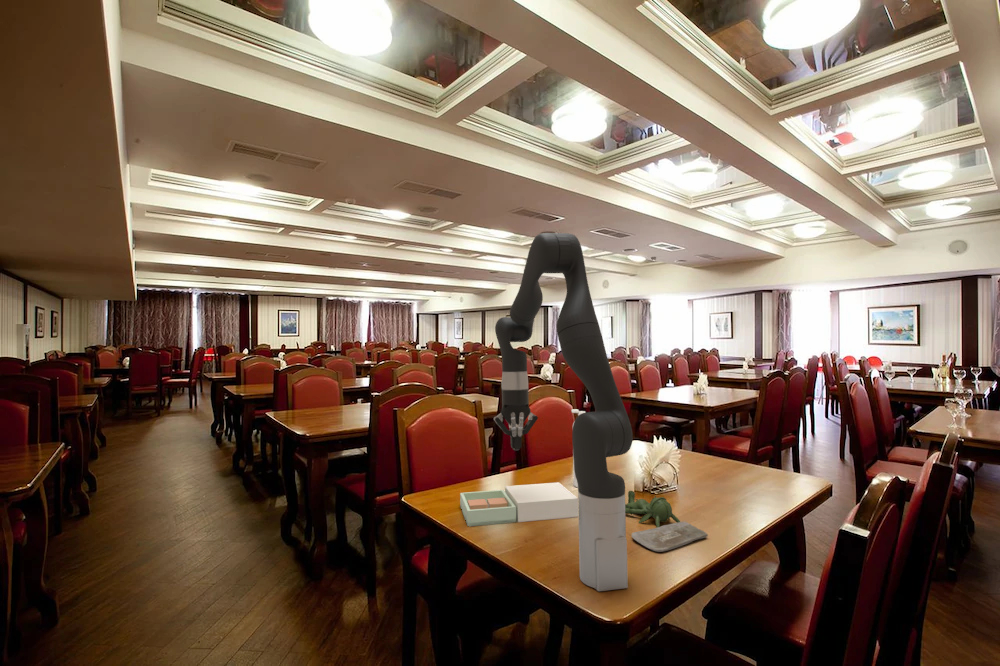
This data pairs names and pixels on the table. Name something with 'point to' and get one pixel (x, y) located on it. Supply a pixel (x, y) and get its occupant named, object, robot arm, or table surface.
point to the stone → (668, 536)
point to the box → (487, 509)
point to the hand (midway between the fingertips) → (516, 449)
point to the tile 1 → (477, 504)
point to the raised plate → (542, 501)
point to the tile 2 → (497, 502)
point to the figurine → (650, 509)
